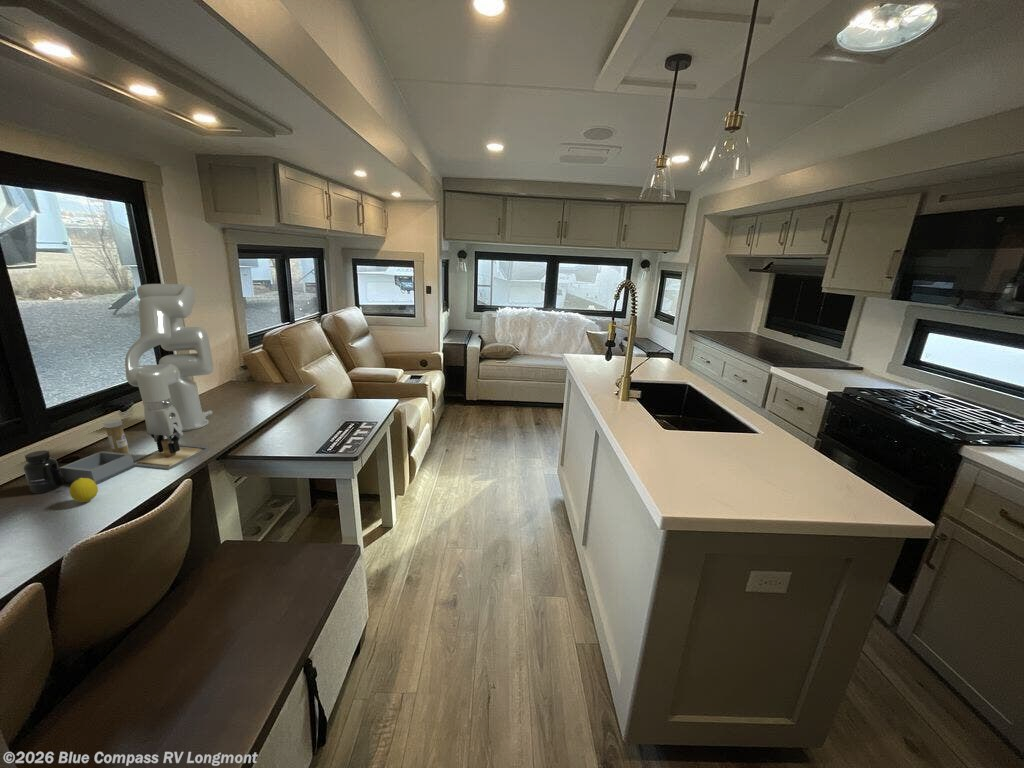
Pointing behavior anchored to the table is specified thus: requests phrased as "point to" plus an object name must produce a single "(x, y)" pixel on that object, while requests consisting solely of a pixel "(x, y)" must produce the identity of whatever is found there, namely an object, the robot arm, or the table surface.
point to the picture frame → (174, 464)
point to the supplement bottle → (42, 472)
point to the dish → (97, 467)
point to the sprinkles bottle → (116, 436)
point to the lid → (169, 455)
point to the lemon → (83, 490)
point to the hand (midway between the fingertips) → (169, 450)
